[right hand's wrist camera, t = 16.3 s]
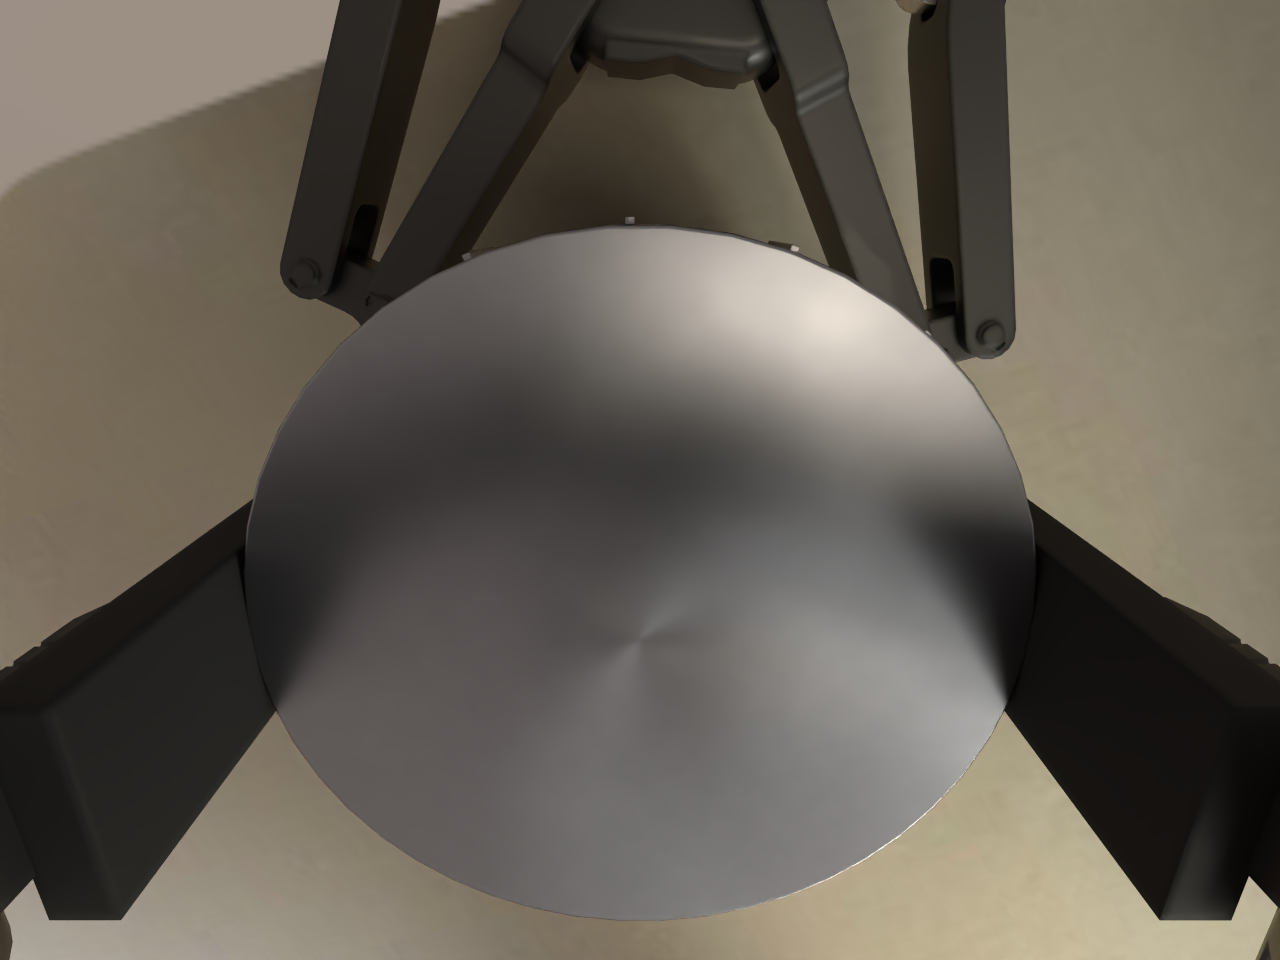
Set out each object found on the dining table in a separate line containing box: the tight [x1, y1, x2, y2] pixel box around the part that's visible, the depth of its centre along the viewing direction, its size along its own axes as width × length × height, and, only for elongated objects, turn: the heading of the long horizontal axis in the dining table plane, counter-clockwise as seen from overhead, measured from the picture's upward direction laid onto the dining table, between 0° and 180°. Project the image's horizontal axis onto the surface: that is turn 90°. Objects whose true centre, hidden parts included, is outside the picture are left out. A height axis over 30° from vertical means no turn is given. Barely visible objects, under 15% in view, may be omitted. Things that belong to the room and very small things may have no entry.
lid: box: [243, 217, 1037, 921], centre depth 11 cm, size 11×11×2 cm
